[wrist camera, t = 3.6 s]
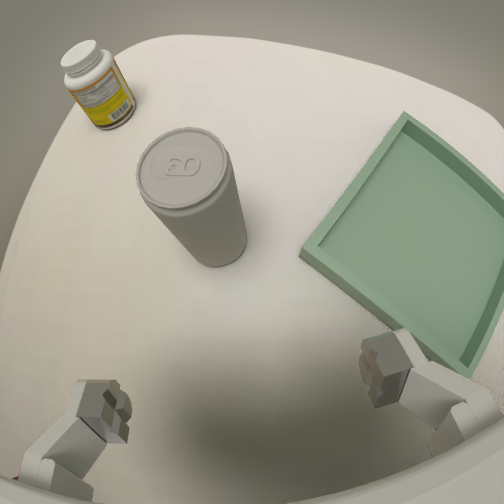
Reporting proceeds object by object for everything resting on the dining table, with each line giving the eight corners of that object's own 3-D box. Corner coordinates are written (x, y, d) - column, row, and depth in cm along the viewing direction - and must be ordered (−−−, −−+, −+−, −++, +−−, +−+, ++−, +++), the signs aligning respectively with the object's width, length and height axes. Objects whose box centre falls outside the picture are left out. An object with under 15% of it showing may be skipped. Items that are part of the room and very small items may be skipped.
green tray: (515, 229, 24) (529, 221, 22) (452, 378, 21) (468, 381, 18) (395, 125, 28) (403, 110, 25) (298, 256, 25) (302, 247, 22)
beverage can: (194, 211, 26) (146, 126, 15) (250, 215, 26) (236, 124, 14) (185, 266, 25) (122, 209, 13) (244, 271, 25) (222, 213, 13)
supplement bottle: (103, 99, 31) (68, 42, 21) (142, 93, 31) (112, 28, 21) (88, 134, 30) (44, 77, 20) (129, 129, 29) (90, 63, 19)
